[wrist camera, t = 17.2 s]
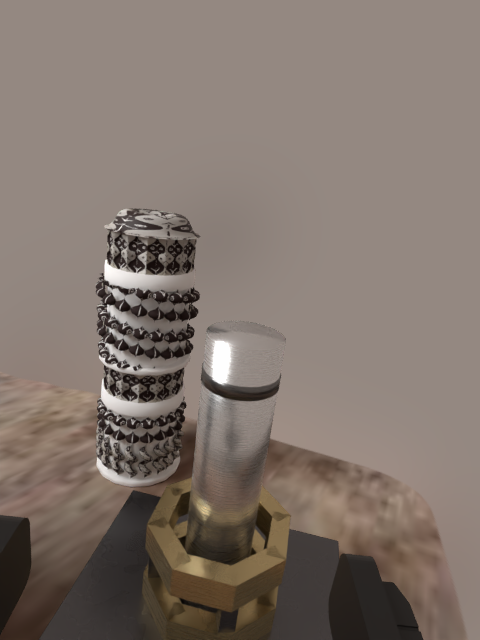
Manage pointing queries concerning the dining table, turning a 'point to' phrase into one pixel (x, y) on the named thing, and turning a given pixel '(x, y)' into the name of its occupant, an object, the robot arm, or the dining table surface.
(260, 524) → the collar stand
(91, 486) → the dining table surface
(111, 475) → the decorative candle
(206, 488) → the metal thermos flask
